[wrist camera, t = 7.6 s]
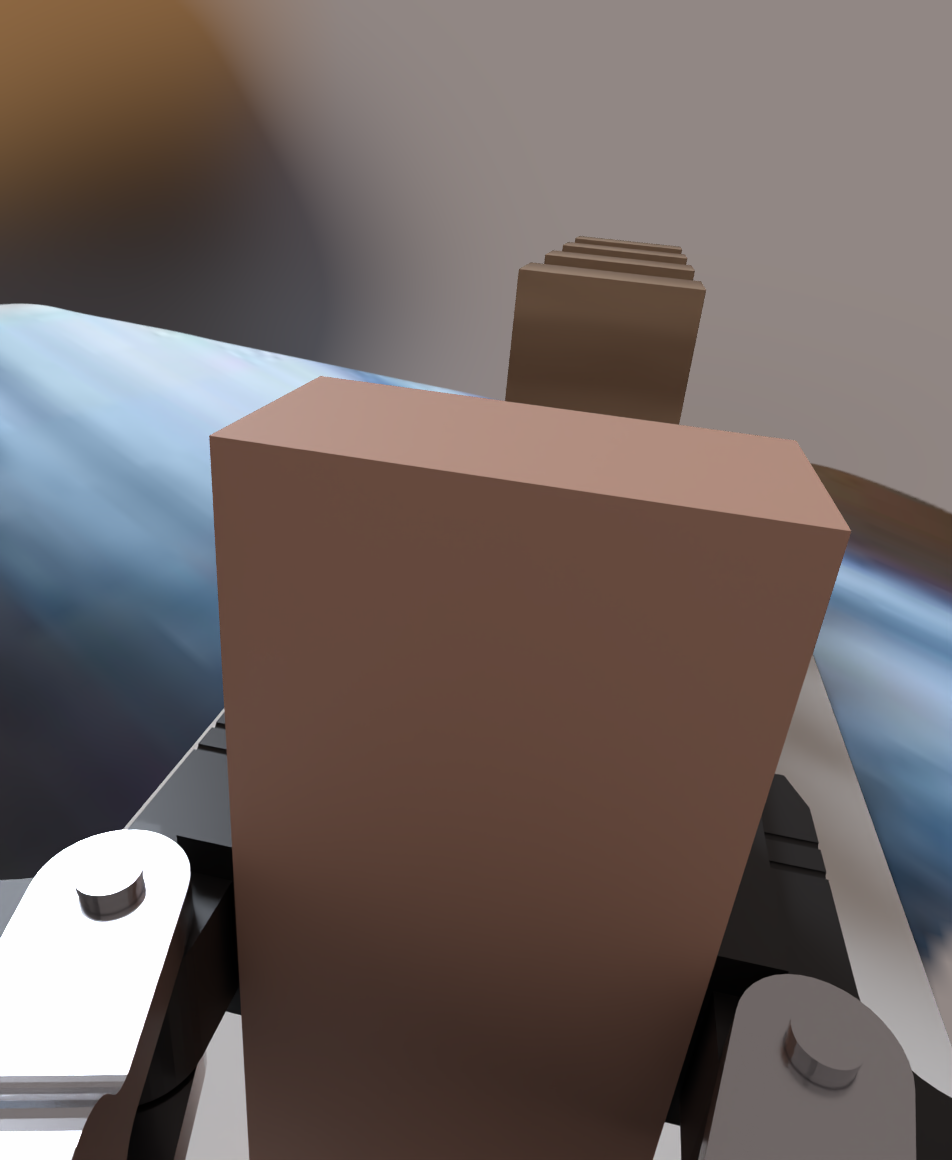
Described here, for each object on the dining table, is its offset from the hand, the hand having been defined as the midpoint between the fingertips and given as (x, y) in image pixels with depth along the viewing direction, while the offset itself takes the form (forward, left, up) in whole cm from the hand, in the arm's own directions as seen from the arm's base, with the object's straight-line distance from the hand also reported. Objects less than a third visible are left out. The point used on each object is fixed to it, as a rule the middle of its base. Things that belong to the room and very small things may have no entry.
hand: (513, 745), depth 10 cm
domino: (+8, +8, -6) cm, 13 cm away
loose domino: (-2, -2, -6) cm, 7 cm away
